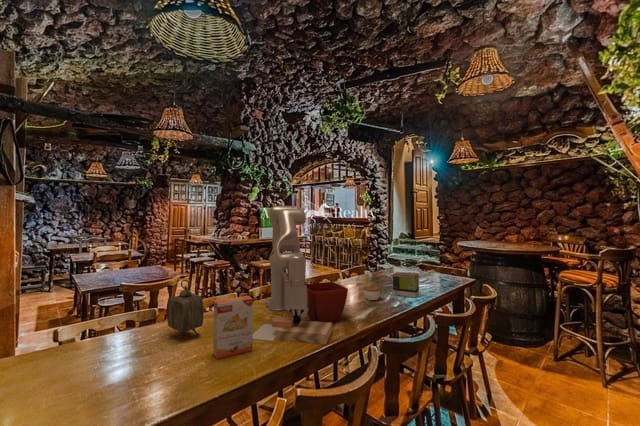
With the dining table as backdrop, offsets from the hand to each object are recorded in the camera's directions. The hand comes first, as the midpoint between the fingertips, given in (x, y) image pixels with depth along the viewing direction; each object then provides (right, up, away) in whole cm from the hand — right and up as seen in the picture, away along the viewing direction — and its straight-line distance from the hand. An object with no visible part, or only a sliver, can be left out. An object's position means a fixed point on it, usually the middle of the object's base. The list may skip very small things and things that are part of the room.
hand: (297, 323), depth 134 cm
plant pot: (+12, -5, +21) cm, 25 cm away
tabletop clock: (-50, -5, -2) cm, 50 cm away
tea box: (+68, -6, +67) cm, 96 cm away
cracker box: (-24, -5, -17) cm, 30 cm away
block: (-6, -1, +1) cm, 6 cm away
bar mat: (-14, -5, +3) cm, 15 cm away
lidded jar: (+43, -6, +56) cm, 71 cm away
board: (+4, -5, -1) cm, 6 cm away
